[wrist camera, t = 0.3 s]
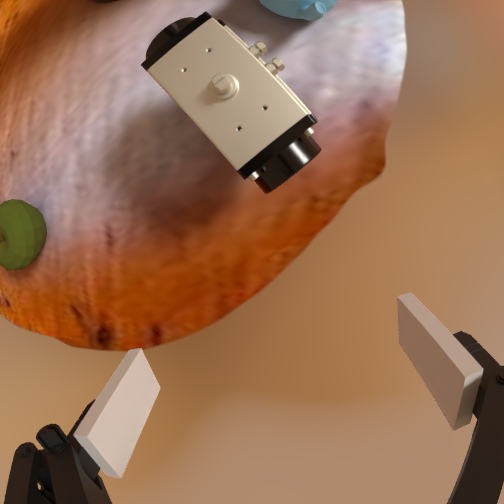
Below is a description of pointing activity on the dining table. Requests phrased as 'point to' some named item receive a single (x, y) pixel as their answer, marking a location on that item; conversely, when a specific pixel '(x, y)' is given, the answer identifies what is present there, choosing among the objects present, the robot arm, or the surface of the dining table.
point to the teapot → (300, 8)
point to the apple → (20, 234)
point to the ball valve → (234, 98)
